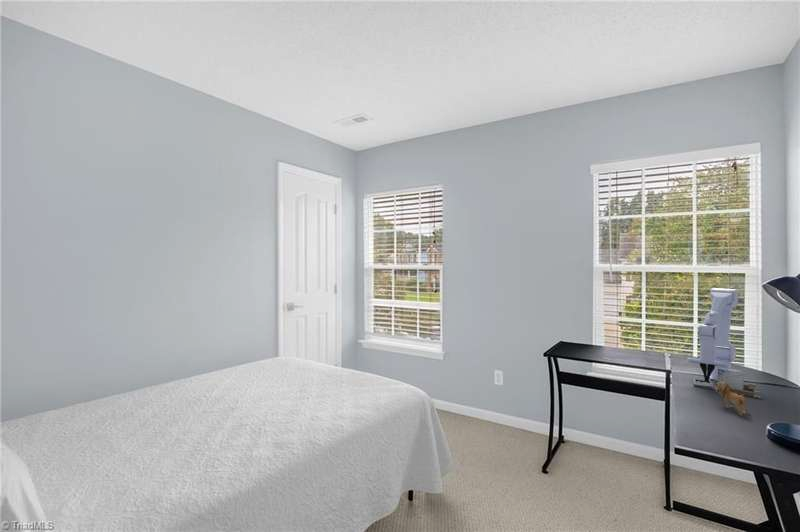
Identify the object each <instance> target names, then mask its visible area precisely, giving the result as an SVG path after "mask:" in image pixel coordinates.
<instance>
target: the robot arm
mask: <svg viewBox="0 0 800 532" xmlns="http://www.w3.org/2000/svg"><path fill="white" fill-rule="evenodd" d="M709 299H710V300H711V301H710V302H712V304H711V308H710V311H709V312H707V313H706V314H705V317H704V320H703V323H702V324H700V325H699V326H698V330H697V331H698V333H697V334H698V339H699V341H700V342H699V358H695V357H694V358H693V357H687V359H686V360H687V363H691V364H697V365H699V366H700V368H701V371H702V374H703V378H704V379H703V380H705V381H710V379H711V380H713V379H715V380H718V369H732V368H731V366H732V365H731V363H734V361H736V356H737V353H736V346H735V345H734V344H733V343H731V342H730V341H729V339H730V330H731V321H732V320H731V319H732V312H733V309H734V308H736V307H738V303H739V291H738V290H737V289H735V288H734V289H732V288H731V289H729V288H716V287H711V289H710V290H709Z"/></svg>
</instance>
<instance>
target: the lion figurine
mask: <svg viewBox="0 0 800 532" xmlns="http://www.w3.org/2000/svg"><path fill="white" fill-rule="evenodd" d="M714 390H715V391H716V393H719V395H720V396H721V398H722V399H723V401H724V405H722V407H723V408H725V407H726V408H727V409H728V408H731V407H733V408H734V404H735V406H736V407H735V408H737V410H738V414H737V415H738V416H743V414H744V415H745V414H746V415H747V416H748V417H752V414H750V413H749V412H747V409H746V408H747V407H746V404H747V402H746V398H745V396H744V395H738V394H736V393H735V392H734V390H733V388H731V386H729V385H728V384H726V383H724V382H720V383H719V385H717V384H716V385H715V386H714ZM729 401H730V404H729V403H728V402H729ZM741 406H742V408H741ZM726 408H725V409H726Z"/></svg>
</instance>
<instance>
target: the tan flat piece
mask: <svg viewBox="0 0 800 532" xmlns="http://www.w3.org/2000/svg"><path fill="white" fill-rule="evenodd" d="M713 382H714V383H718V380H715V379H714V381H713ZM743 387H744V388H749V389H754V390H753V391H747V390H744V389H743V390H737V389H733V390H734V392H735V393H738V394H744V395H749V396H748V397H750V396H753V397H752V398H756V397H758V398H757V399H761V391H757V390H756V383H749V382H748V384H746V383H743ZM749 389H748V390H749ZM744 395H743V396H744Z"/></svg>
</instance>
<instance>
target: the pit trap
mask: <svg viewBox="0 0 800 532" xmlns="http://www.w3.org/2000/svg"><path fill="white" fill-rule="evenodd" d="M698 381H700V383H703V382H707V383H710V385H711V386H705V385H699V384H696V383H698ZM693 383H694V384H693ZM692 384H693V387H696V386H700V387H699V388H702V387H706V388H705V389H707V388H713V389H714V390H715V388H714V387H715V386H714V384H713V381H711V380H709V381H705V379H698V378H693V379H692ZM713 389H712V390H713Z"/></svg>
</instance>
